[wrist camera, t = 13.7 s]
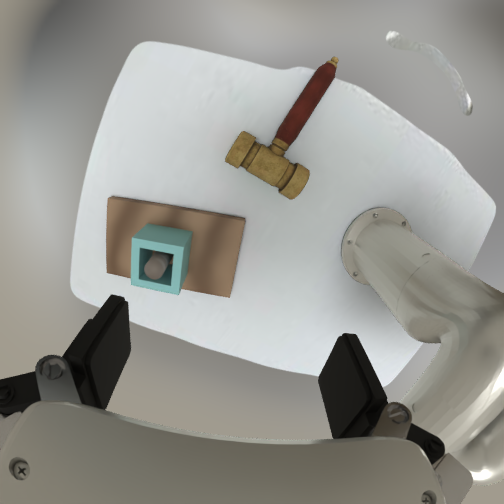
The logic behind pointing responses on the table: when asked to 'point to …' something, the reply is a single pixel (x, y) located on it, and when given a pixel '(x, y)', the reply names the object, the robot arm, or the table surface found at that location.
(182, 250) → the collar
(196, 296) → the table surface
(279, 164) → the gavel
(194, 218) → the post stand
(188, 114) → the table surface
